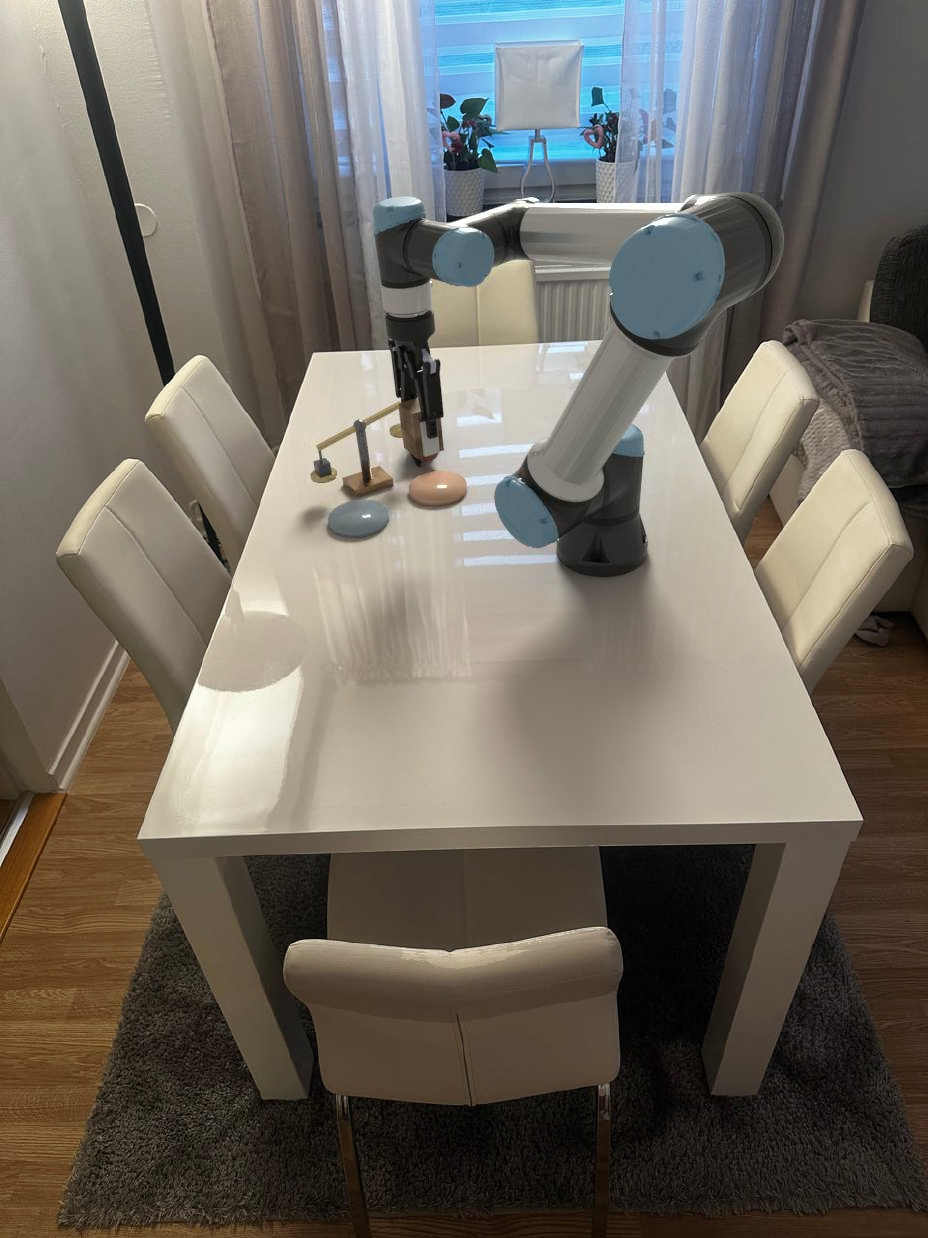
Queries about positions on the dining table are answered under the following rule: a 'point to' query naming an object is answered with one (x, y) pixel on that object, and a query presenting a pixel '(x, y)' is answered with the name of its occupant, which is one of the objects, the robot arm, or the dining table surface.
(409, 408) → the block
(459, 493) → the peach glossy dome
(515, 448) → the dining table surface
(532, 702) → the dining table surface
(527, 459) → the robot arm
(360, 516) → the blue gray round dish
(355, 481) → the balance
